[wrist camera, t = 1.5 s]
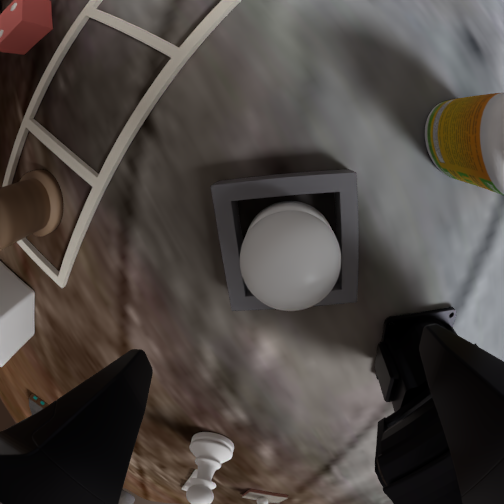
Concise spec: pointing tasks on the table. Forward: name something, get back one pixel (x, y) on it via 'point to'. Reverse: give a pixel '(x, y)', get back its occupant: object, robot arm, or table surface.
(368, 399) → the table surface
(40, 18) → the red die
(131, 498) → the pillar candle
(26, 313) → the medicine bottle
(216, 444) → the chess pawn
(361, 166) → the table surface
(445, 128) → the supplement bottle
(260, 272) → the white ball
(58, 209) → the brown flanged cylinder
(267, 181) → the dome base
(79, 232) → the track
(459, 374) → the robot arm
